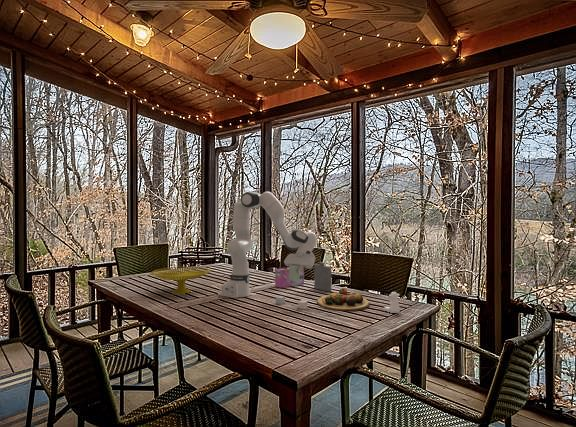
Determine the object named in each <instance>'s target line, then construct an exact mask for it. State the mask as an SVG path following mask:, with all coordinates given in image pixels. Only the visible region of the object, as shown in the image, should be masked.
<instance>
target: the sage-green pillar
mask: <svg viewBox="0 0 576 427" xmlns="http://www.w3.org/2000/svg"><path fill="white" fill-rule="evenodd" d="M288 267H289V280H294V281H296V280H299V273H297V272H296V271H297V269H299V266H297V265H292V266H288Z"/></svg>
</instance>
